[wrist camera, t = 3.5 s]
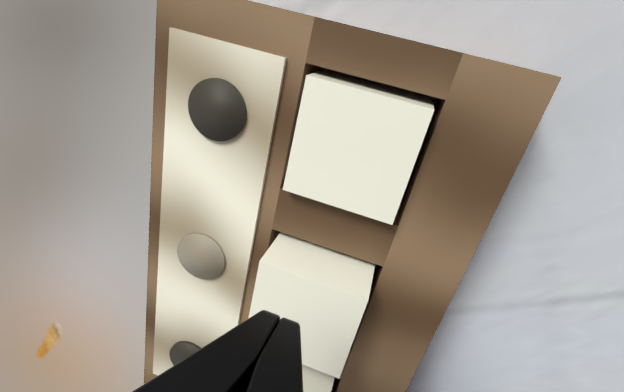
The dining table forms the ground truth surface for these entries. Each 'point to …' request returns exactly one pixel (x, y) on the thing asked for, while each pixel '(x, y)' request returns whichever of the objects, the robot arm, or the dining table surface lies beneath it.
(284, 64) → the button board
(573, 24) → the dining table surface
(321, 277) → the middle button
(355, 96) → the button
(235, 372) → the robot arm
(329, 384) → the button
